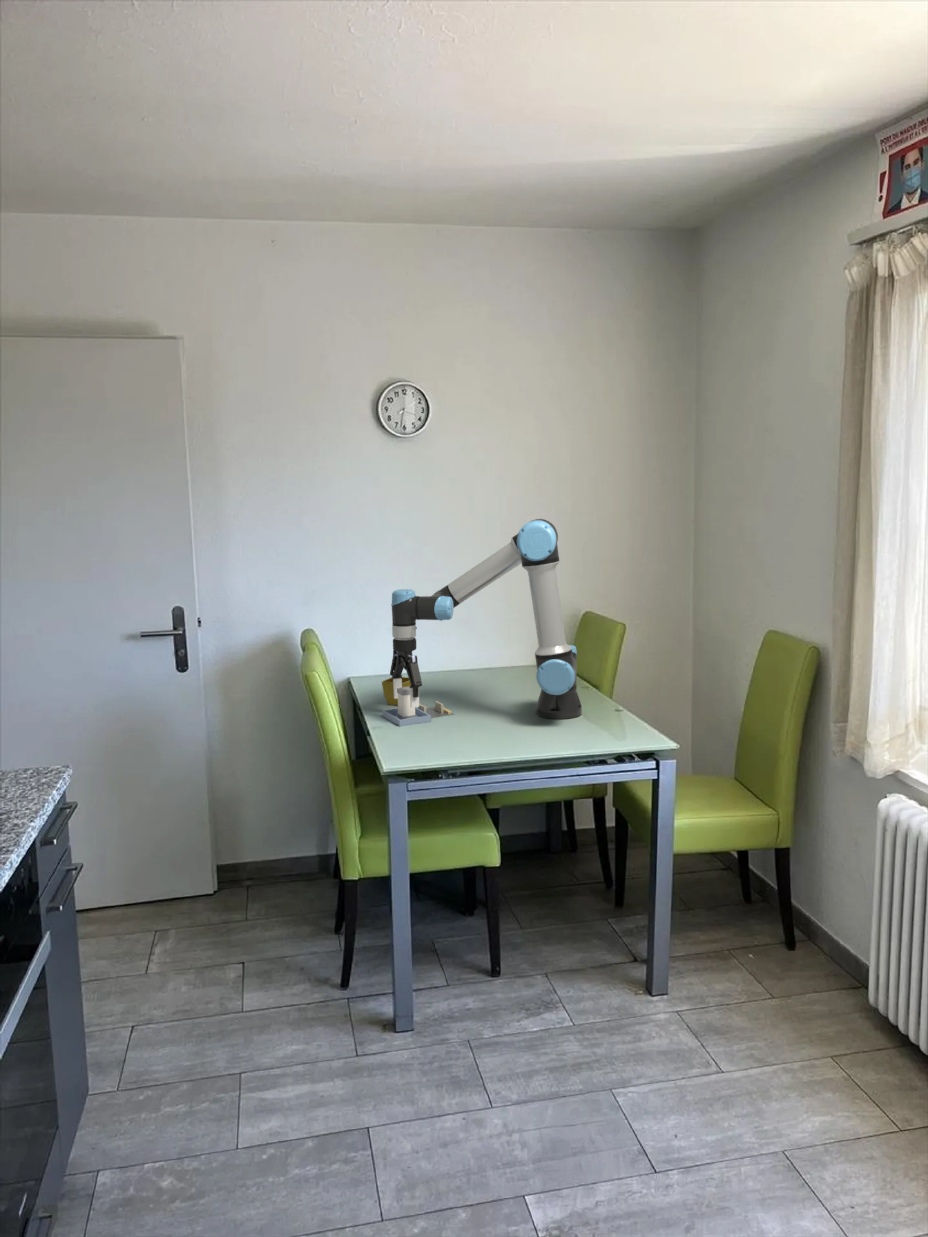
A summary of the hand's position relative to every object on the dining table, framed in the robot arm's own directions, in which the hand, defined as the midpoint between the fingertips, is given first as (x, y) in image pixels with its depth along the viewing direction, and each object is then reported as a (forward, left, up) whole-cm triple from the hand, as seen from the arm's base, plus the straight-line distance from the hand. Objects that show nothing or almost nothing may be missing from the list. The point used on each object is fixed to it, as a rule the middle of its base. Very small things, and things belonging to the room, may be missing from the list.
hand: (406, 702), depth 295 cm
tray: (0, 0, -6) cm, 6 cm away
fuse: (0, 0, -5) cm, 5 cm away
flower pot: (+20, -6, -6) cm, 22 cm away
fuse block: (+3, -11, -6) cm, 13 cm away
